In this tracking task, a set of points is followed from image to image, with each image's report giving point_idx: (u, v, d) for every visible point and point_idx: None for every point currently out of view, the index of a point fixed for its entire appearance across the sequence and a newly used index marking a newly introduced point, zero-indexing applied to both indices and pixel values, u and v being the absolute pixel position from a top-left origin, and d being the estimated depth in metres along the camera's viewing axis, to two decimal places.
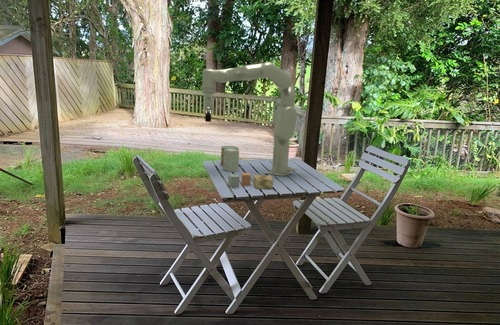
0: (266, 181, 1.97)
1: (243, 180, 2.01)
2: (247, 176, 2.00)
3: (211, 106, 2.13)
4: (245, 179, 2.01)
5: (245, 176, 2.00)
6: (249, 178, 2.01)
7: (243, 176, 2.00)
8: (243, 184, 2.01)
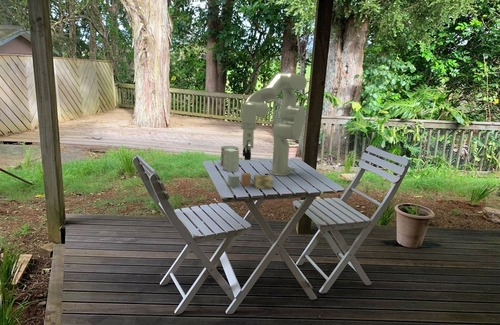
0: (266, 181, 1.97)
1: (243, 180, 2.01)
2: (247, 176, 2.00)
3: (251, 143, 1.94)
4: (245, 179, 2.01)
5: (245, 176, 2.00)
6: (249, 178, 2.01)
7: (243, 176, 2.00)
8: (243, 184, 2.01)
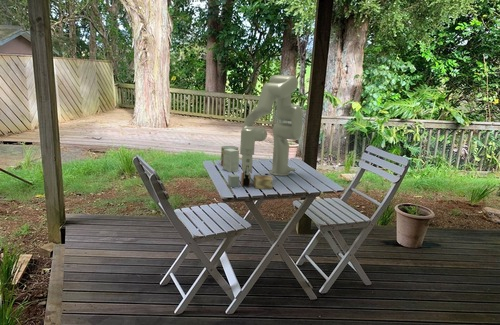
0: (266, 181, 1.97)
1: None
2: None
3: (250, 168, 1.97)
4: None
5: None
6: (249, 178, 2.01)
7: (243, 176, 2.00)
8: None
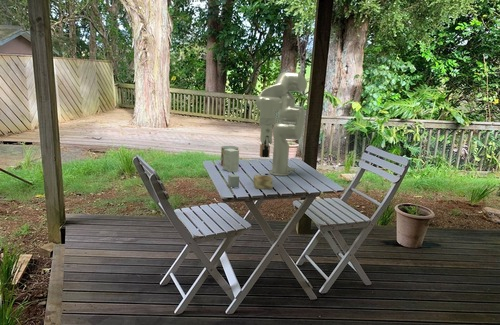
0: (266, 181, 1.97)
1: None
2: None
3: (270, 139, 1.91)
4: None
5: None
6: None
7: (262, 147, 1.95)
8: None
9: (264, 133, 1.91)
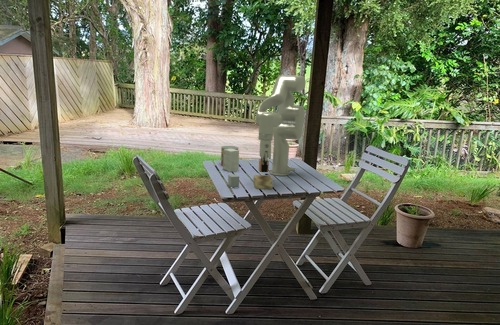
0: (266, 181, 1.97)
1: (261, 166, 1.97)
2: None
3: (269, 154, 1.93)
4: None
5: None
6: None
7: (261, 162, 1.96)
8: None
9: (263, 148, 1.92)
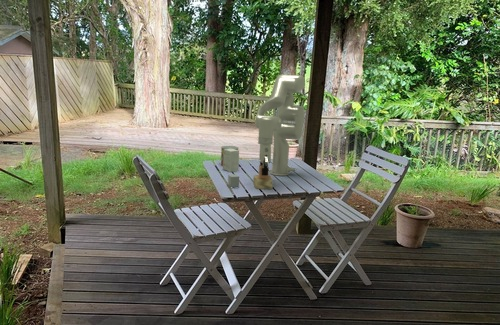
0: (266, 181, 1.97)
1: (261, 172, 1.98)
2: None
3: (269, 158, 1.94)
4: None
5: None
6: None
7: (261, 168, 1.97)
8: (261, 176, 1.98)
9: (263, 152, 1.93)
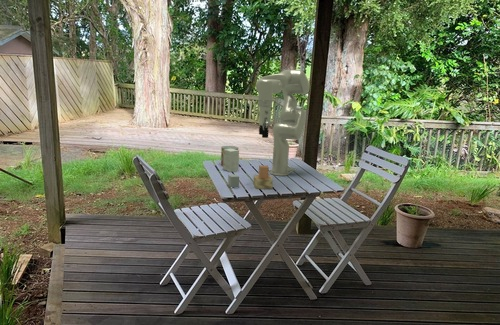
0: (266, 181, 1.97)
1: (261, 172, 1.98)
2: (265, 168, 1.98)
3: (269, 121, 1.93)
4: (263, 171, 1.98)
5: (263, 168, 1.97)
6: (267, 170, 1.98)
7: (261, 168, 1.97)
8: (261, 176, 1.98)
9: (263, 115, 1.92)
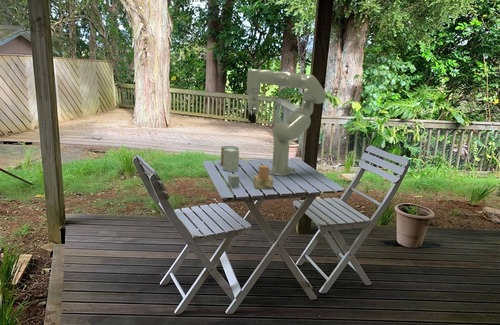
0: (266, 181, 1.97)
1: (261, 172, 1.98)
2: (265, 168, 1.98)
3: (256, 107, 2.08)
4: (263, 171, 1.98)
5: (263, 168, 1.97)
6: (267, 170, 1.98)
7: (261, 168, 1.97)
8: (261, 176, 1.98)
9: (251, 102, 2.07)
